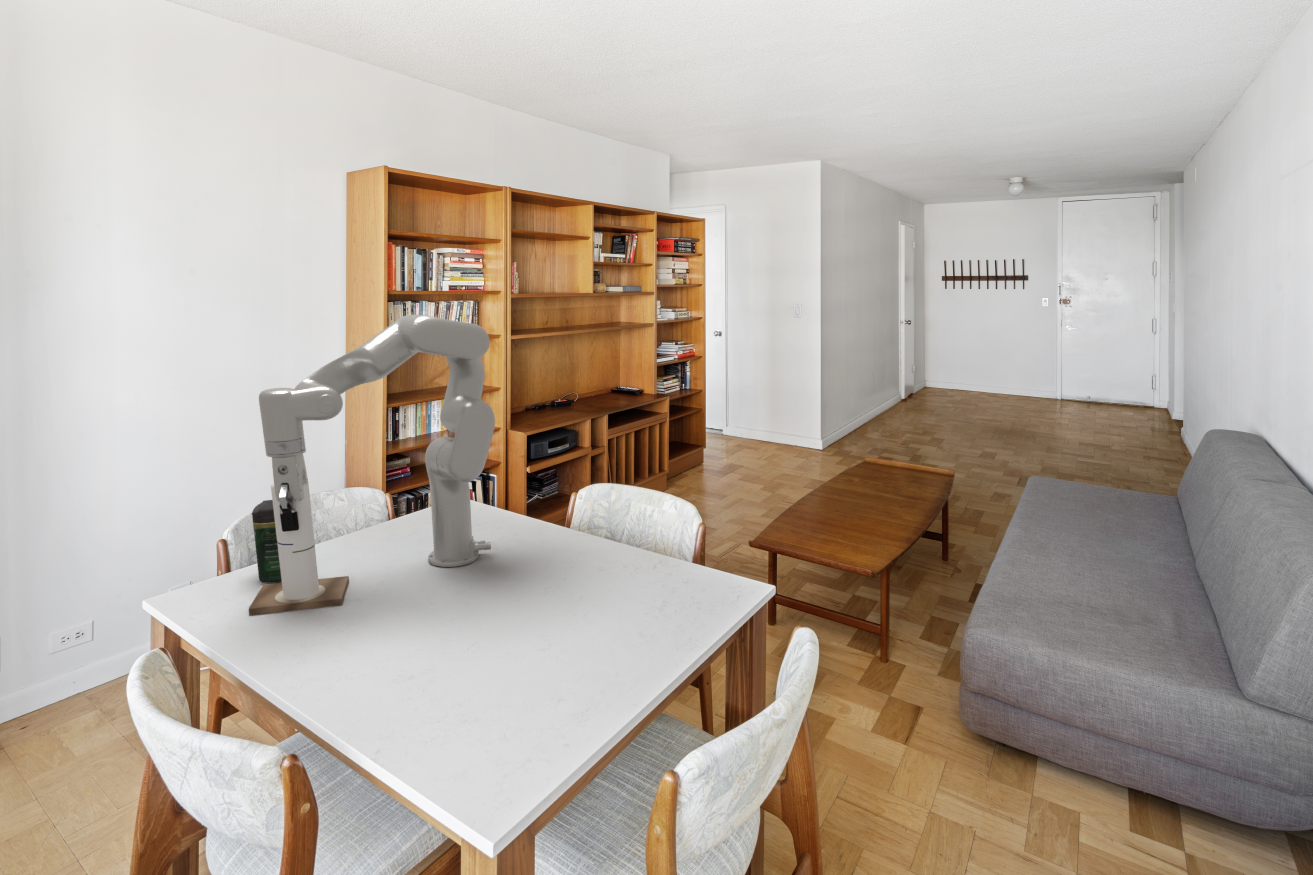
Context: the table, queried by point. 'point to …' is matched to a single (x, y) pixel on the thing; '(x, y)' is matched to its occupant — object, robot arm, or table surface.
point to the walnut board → (274, 600)
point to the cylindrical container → (297, 550)
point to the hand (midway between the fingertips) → (295, 523)
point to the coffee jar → (266, 543)
